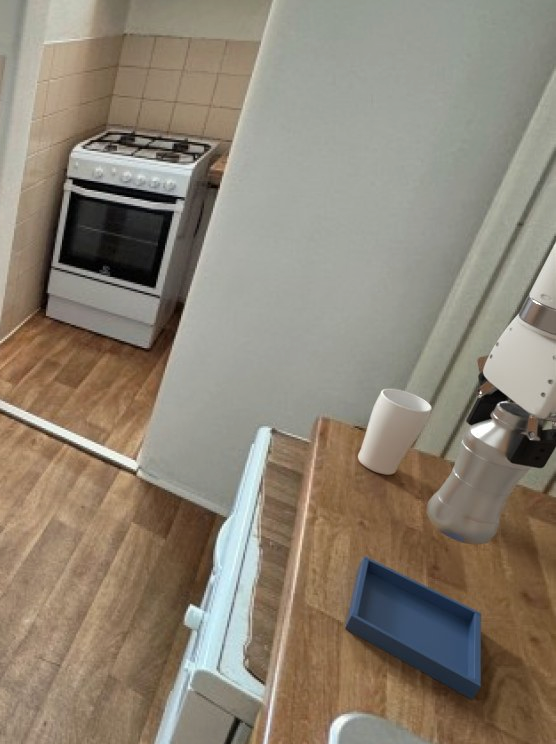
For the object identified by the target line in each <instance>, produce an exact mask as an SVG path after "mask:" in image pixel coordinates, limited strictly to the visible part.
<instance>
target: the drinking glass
mask: <svg viewBox="0 0 556 744" xmlns="http://www.w3.org/2000/svg"><path fill="white" fill-rule="evenodd" d="M432 410H433V407H432V405H431V404H430V403H429V402H428V401H426V400H425V399H424V398H422V397H420V396H418V395H417V394H415V393H411V392H408V391H406V390H403V389H398V388H384V389H382V390H381V391H380V393H379V395H378V396H377V399H376V401H375V402H374V405H373V408H372V410H371V414H370V417H369V419H368V420H369V421H368V424H367V428H366V431H365V433H364V438H363V440H362V444H361V447H360V450H359V452H358V454H357V459H358V461H359V463H360V464H361V465H362V466H364V467H365V469H369V470H370V471H372V472H374V473H377V474H380V475H383V476H385V475H386V476H391V475H394V474H395V473H396V472H397V470H398V468H399V467H400V464H401V463H402V461H403V460H404V459H405V458H406V455H407V454H408V452H409V451H410V450H411V448H412V446H413V445H414V443H415V442H416V440H417V439H418V437H419V436H420V435H421V433H422V432H423V430H424V428H425V426H426V424H427V422H428V421H429V418H430V415H431V413H432Z"/></svg>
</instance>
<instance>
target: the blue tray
mask: <svg viewBox="0 0 556 744" xmlns="http://www.w3.org/2000/svg"><path fill="white" fill-rule="evenodd" d="M351 594H352V595H351V600H350V604H349V608H348V613H347V618H346V622H345V626H344V629H345V630H346V631H348V632H351V633H352V634H354V635H355V636H358V637H359V638H361V639H363V640H364V641H366V642H368V643H370V644H372V645H374V646H375V647H377V648H378V649H381V650H382V651H384V652H386V653H388V654H389V655H391V656H392V657H394V658H397V660H400V661H402V662H404V663H405V664H407V665H409V666H411V667H413V668H414V669H415V670H418V671H420V672H421V673H423V674H425V675H426V676H429V677H430V678H432V679H434V680H435V681H438V682H439V683H441V684H442V685H445V686H446V687H447V688H450V689H452V690H453V691H455V692H457V693H459V694H461V695H462V696H464V697H466V698H467V699H470V700H473V699H474V698H475V696H476V695H477V693H478V692H479V691H480V689H481V687H482V613H481V612H480V611H478V610H476V609H474V608H472V607H470V606H468V605H466V604H463V603H461V602H460V601H458V600H456V599H453V598H451V597H449V596H447V595H446V594H443V593H442V592H439V591H437V590H435V589H433V588H431V587H429V586H427V585H425V584H424V583H421V582H418V581H417V580H414V579H413V578H410V577H409V576H407V575H405V574H403V573H400V572H399V571H396V570H394V569H392V568H391V567H388V566H386V565H384V564H382V563H379V562H378V561H376V560H374V559H372V558H369V557H368V556H366V555H364V556H363V557H362V559H361V562H360V564H359V566H358V568H357V572H356V578H355V581H354V586H353V590H352V593H351Z"/></svg>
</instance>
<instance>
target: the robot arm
mask: <svg viewBox="0 0 556 744" xmlns="http://www.w3.org/2000/svg"><path fill="white" fill-rule="evenodd" d="M477 368H478V372H479V374H478V375H477V377H478V378H477V379H478V383H479V387H478V388H477V389H476V392H475V393H476V396H477V398H476V400H475V402H474V404H473V406H472V407H471V410H470V412H469V414H468V416H467V417H466V420H465V422H466V423H467V425H470V426H472V425H474V424H477V423H479V422H482V421H486V420H489V419H492V418H491V416H490V415H491V413H492V411H494V410H495V408H496V406H497V404H498V403H499V402H510V400H512V401H513V403H515V404H518V405H519V406H521V407H522V408H523V409H524V410H526V411H527V412H528V413H529V417H528V428H527V435H525V434H520V435H519V437H518V439H517V440H516V442H515V444H514V446H513V448H512V449H511V451H510V453H509V455H508V457H507V459H508V460H509V461H510V462H511V463H513V464H518V465H523V466H529V467H532V468H535V469H543V468H545V467H546V465H547V464H548V461H549V460H550V458H551V456H552V454H554V451H555V450H556V242H555V243H554V245H553V246H552V249H551V250H550V253H549V255H548V256H547V259H546V261H545V262H544V265H543V266H542V268H541V270H540V272H539V274H538V276H537V278H536V280H535V282H534V283H533V286H532V288H531V290H530V291H529V294H528V296H527V297H526V299H525V301H524V303H523V305H522V307H521V309H520V311H519V313H518V314H517V315H516V316H515V317H514V318H513V319H512V320H511V322H510V323H509V324H508V326H507V327H506V328H505V330H503V332H502V333H501V335H500V337H499V338H498V339H497V341H496V342H495V344H494V346H493V347H492V349H491V351H490V353H489V354H487V355H483V356H479V357H478V358H477ZM551 413H552V414H554V415H551ZM544 421H546V422H551V428H548V429H547V428H546V429H543V428H544Z"/></svg>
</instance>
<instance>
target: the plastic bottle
mask: <svg viewBox="0 0 556 744" xmlns="http://www.w3.org/2000/svg"><path fill="white" fill-rule="evenodd" d="M490 416H491V418H492V419H489V420H486V421H482V422H479V423H477V424H474V425H470V426H469V427H468V428H467V429H466V430H464V433H463V436H462V437H461V438H462V439H461V443H460V447H459V451H458V455H457V457H456V460H455V463H454V465H453V467H452V470H451V471H450V474H449V475H448V476H447V478H446V479H445V481H444V482H443V484H442V485H441V487H440V488H439V489H438V490H437V491H436V492H435V493H434V494H433V495H432V496H431V497H430V498H429V500H428V501H427V505H426V506H427V507H426V511H425V513H426V517H427V519H428V521H429V522H430V524H431V525H432V526H433V527H434V528H435V529H436V530H437V531H438V532H440V533H442V534H443V535H444V536H446V537H448V538H450V539H452V540H454V541H457V542H460V543H463V544H467V545H471V546H472V545H473V546H476V545H484V544H487V543H489V541H491V540H492V539H493V538H494V537H495V536H496V535H497V533H498V530H499V526H500V519H501V515H502V513H503V510H504V509H505V505H506V504H507V503H506V502H507V500H508V498H509V496H510V495H511V494H512V492H513V491H514V489H515V488H516V487H517V485H518V484H519V482H520V481H521V480H522V479H523V478H524V476H526V475H527V474H528V472H529V471H530V470H532V468H533V467H529V466H523V465H518V464H513V463H511V462H510V461H509V460H508V459H507V457H508V455H509V453H510V451H511V449H512V448H513V446H514V444H515V442H516V440H517V439H518V437H519V435H520V434H525V435H527V428H528V417H529V413H528V412H527V411H526V410H524V409H523V408H522V407H521V406H519V405H518V404H517V403H515V402H510V401H505V402H499V403H498V404H497V406H496V408H495V410H494V411H492V413H491V415H490Z"/></svg>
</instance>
